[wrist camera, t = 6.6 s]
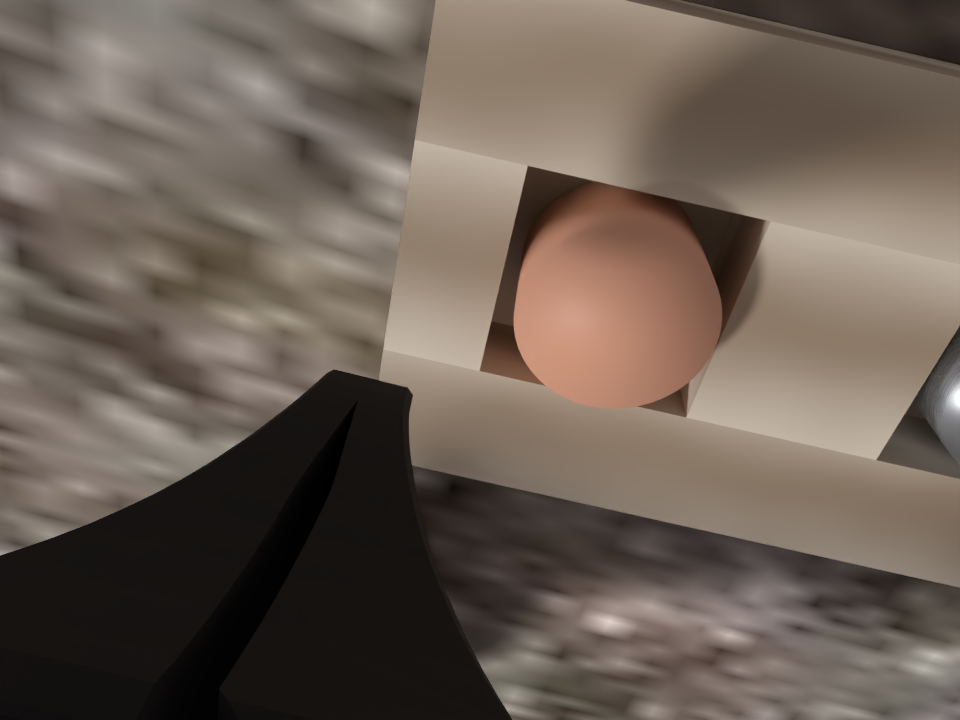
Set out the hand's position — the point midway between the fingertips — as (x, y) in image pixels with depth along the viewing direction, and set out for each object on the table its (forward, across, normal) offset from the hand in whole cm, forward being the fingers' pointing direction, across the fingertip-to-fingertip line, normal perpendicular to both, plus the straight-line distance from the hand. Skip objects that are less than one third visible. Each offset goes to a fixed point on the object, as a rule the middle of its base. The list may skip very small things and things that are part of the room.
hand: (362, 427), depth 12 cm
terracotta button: (+8, -4, -1) cm, 9 cm away
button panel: (+9, -9, -1) cm, 13 cm away
